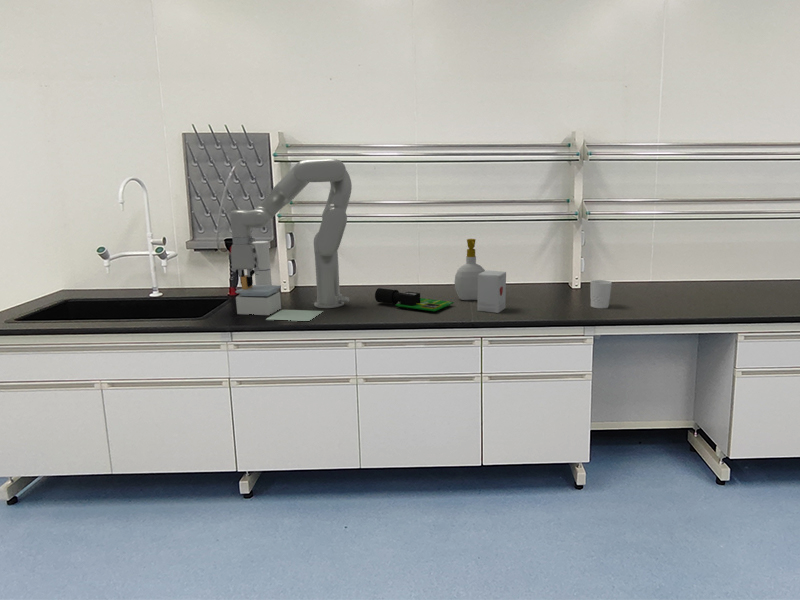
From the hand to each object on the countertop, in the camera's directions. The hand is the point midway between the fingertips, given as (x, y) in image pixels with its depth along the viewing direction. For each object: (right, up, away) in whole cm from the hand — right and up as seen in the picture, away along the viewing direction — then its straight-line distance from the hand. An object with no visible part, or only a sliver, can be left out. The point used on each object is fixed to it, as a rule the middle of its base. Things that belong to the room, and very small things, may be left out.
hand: (247, 285), depth 227 cm
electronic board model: (+68, -9, +4) cm, 69 cm away
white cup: (+142, -9, -5) cm, 142 cm away
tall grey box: (0, -4, +28) cm, 29 cm away
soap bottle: (+93, -6, +12) cm, 94 cm away
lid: (+5, -3, 0) cm, 6 cm away
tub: (+5, -10, +1) cm, 12 cm away
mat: (+21, -12, -8) cm, 26 cm away
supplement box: (+99, -10, -6) cm, 100 cm away
